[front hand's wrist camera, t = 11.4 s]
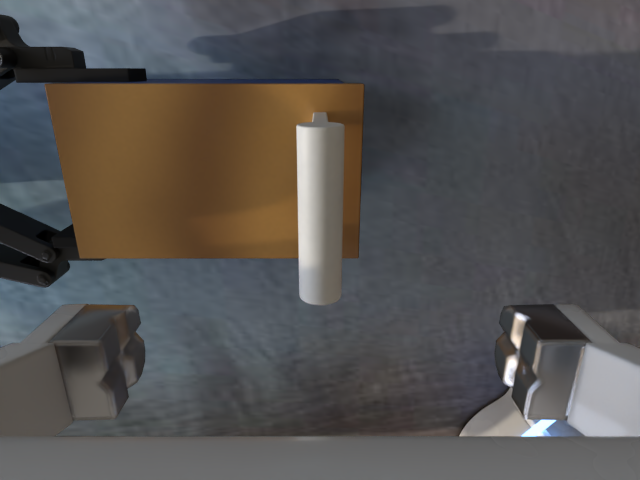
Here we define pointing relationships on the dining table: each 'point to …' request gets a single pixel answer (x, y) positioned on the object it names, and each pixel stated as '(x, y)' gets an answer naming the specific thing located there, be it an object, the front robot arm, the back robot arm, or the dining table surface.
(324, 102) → the lid
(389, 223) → the dining table surface
